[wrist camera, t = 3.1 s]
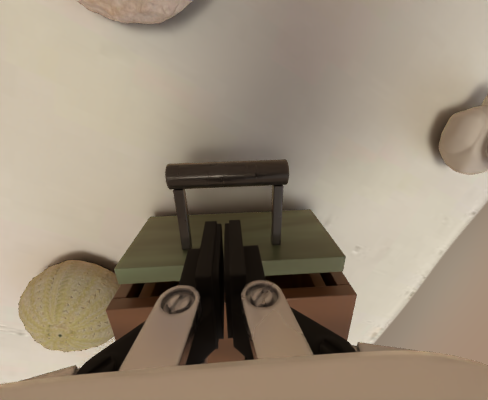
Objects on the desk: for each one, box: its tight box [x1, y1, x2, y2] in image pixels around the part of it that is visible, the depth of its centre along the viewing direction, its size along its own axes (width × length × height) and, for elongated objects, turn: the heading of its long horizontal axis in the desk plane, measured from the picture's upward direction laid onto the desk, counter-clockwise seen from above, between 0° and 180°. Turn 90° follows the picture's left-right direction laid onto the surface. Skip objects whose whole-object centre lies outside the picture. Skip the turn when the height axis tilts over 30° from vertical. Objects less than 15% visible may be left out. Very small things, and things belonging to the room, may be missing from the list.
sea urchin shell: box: [18, 260, 121, 352], centre depth 22 cm, size 9×8×8 cm
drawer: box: [114, 160, 345, 297], centre depth 20 cm, size 22×14×7 cm, turn 1°
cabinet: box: [106, 272, 357, 363], centre depth 22 cm, size 18×15×9 cm
